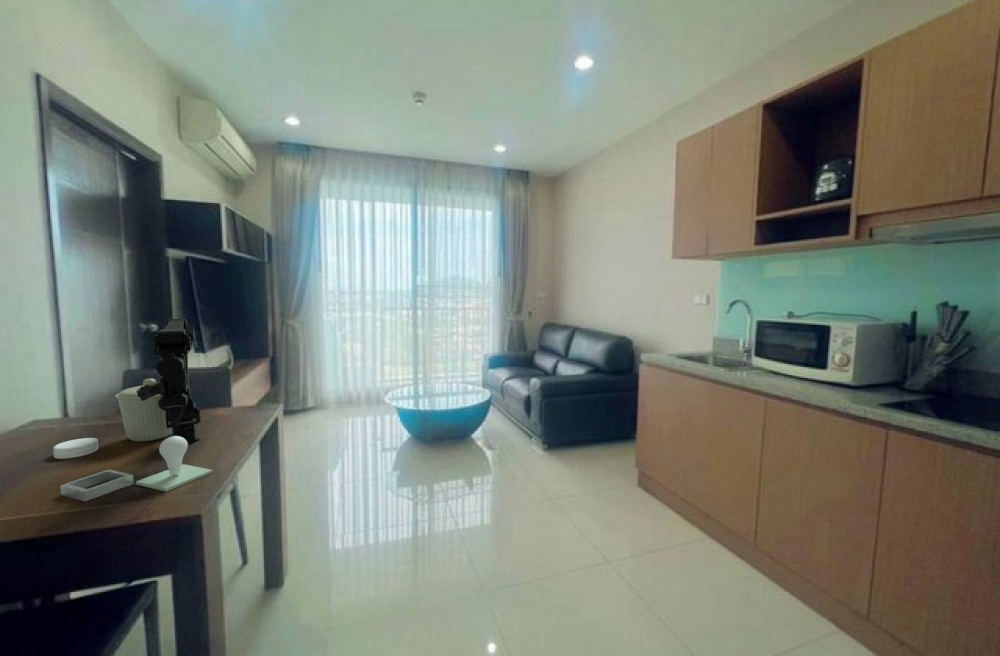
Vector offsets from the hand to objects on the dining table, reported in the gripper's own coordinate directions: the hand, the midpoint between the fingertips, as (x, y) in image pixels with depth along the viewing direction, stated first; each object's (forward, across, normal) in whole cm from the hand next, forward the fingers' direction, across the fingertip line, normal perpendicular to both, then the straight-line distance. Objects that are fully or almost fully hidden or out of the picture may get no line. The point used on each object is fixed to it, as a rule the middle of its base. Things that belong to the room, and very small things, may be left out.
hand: (176, 423), depth 122 cm
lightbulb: (+11, +13, 0) cm, 18 cm away
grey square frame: (+12, +10, -16) cm, 22 cm away
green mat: (+12, +14, 0) cm, 18 cm away
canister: (+12, -33, -9) cm, 36 cm away
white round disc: (+12, -27, -27) cm, 40 cm away
